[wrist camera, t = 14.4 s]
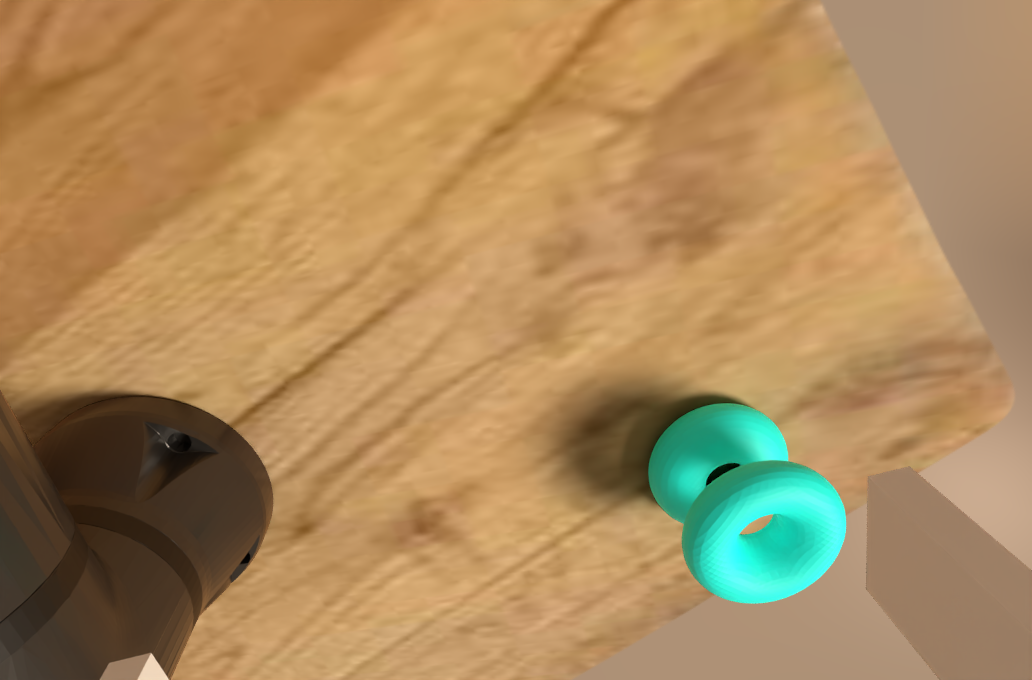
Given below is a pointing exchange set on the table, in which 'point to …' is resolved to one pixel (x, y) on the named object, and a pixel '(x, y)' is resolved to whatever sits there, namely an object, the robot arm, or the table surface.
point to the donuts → (745, 505)
